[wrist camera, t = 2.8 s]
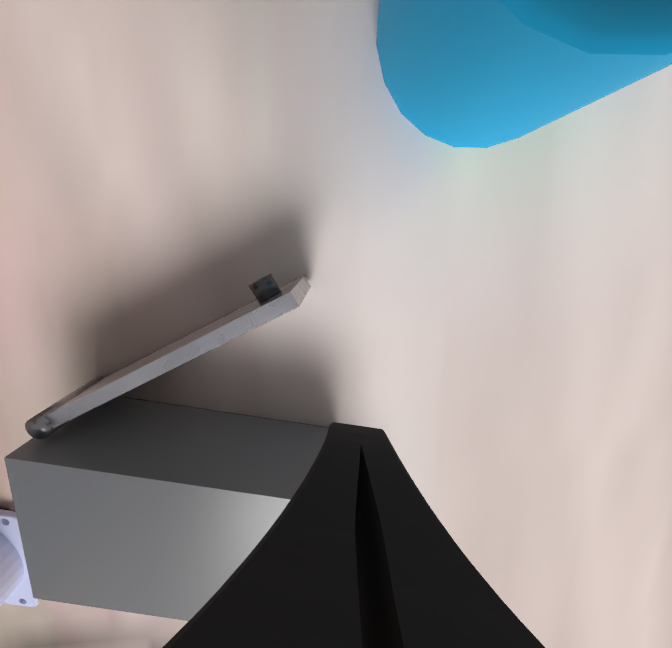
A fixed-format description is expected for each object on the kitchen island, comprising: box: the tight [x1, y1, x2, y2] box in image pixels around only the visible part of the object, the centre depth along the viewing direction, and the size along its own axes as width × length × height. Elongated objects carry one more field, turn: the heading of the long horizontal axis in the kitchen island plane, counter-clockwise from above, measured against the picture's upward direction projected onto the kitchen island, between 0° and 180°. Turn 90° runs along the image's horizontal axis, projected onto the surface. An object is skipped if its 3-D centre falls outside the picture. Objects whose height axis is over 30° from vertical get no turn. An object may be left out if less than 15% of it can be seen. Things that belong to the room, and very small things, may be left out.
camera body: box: [4, 397, 329, 621], centre depth 16 cm, size 15×8×6 cm, turn 82°
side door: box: [25, 274, 311, 439], centre depth 15 cm, size 13×2×4 cm, turn 117°
